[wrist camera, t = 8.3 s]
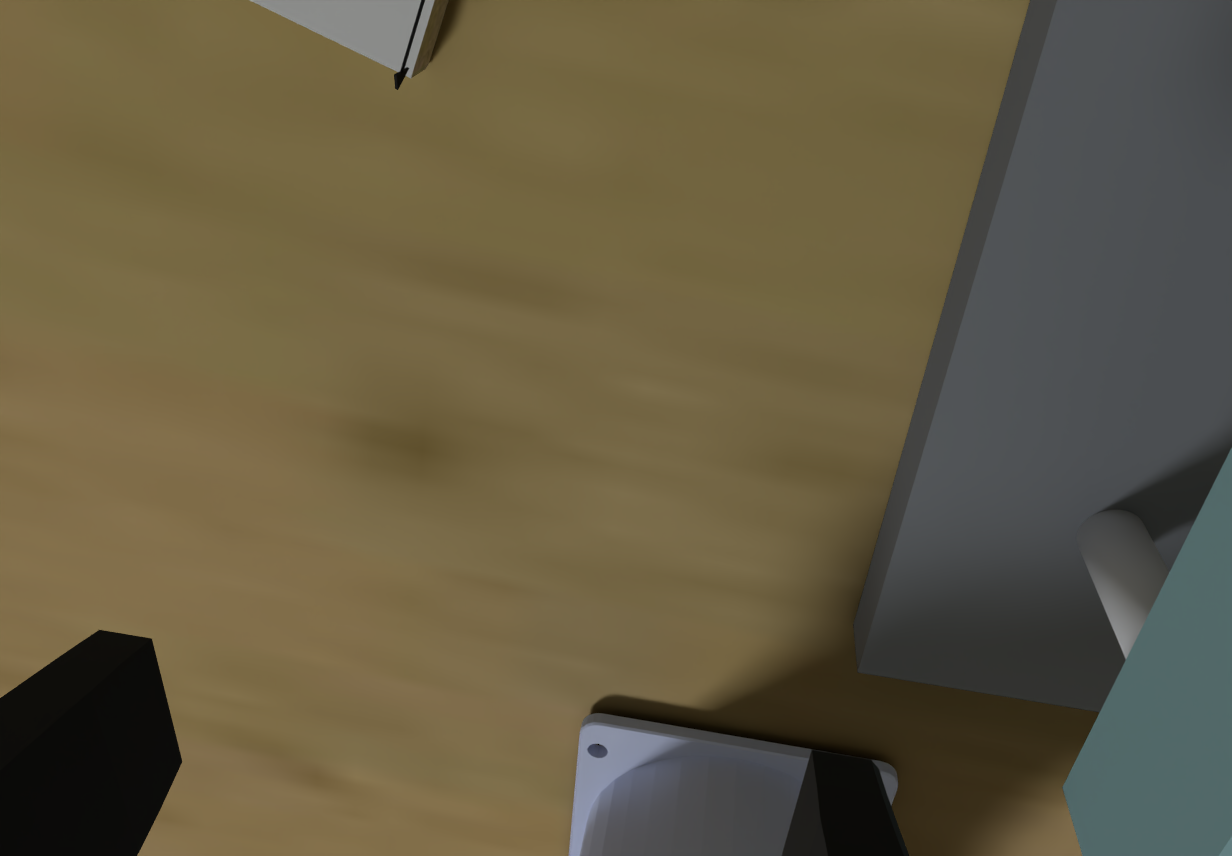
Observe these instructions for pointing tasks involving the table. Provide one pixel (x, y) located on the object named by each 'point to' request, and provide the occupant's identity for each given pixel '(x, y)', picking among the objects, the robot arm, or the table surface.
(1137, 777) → the teal rectangular block
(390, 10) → the white ridged flat slab
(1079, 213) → the peg stand
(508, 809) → the table surface
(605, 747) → the robot arm
